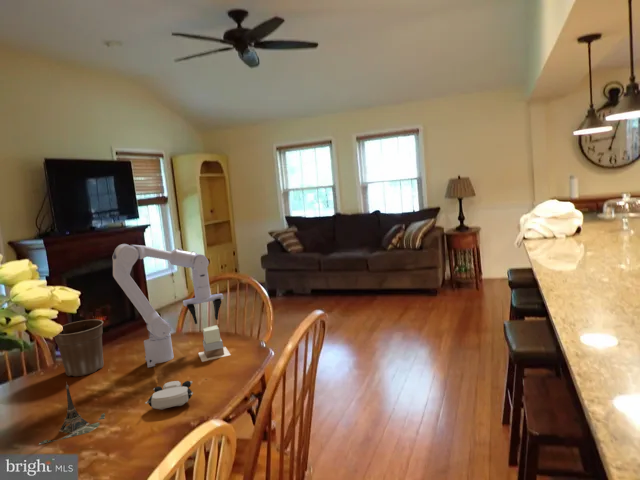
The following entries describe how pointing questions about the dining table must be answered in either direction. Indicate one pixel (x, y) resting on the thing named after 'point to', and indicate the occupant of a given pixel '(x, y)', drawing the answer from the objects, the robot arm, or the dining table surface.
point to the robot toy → (170, 395)
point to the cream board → (204, 358)
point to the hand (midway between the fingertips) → (206, 321)
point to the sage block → (211, 334)
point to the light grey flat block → (213, 345)
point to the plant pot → (81, 347)
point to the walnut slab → (214, 352)
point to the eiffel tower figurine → (75, 421)
